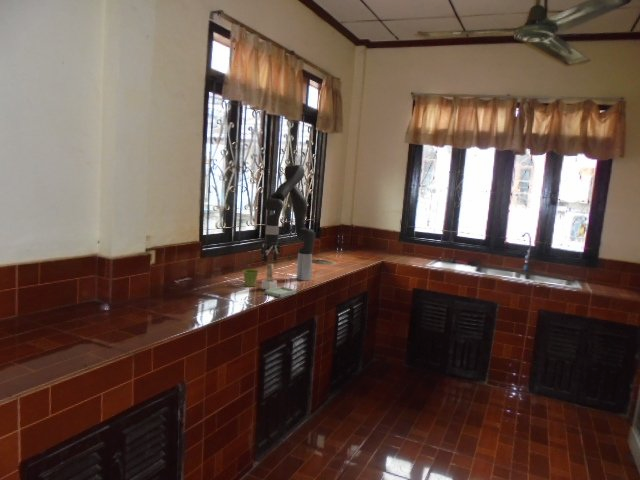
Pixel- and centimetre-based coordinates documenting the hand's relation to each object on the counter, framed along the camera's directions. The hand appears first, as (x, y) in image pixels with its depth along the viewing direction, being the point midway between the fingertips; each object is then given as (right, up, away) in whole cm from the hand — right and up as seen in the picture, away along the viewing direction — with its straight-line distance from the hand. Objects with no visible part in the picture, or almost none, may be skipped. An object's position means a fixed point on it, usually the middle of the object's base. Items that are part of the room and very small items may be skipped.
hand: (270, 260), depth 269 cm
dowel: (-1, -16, +2) cm, 16 cm away
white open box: (-1, -16, +2) cm, 17 cm away
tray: (+7, -18, -7) cm, 20 cm away
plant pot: (-13, -15, +8) cm, 21 cm away
